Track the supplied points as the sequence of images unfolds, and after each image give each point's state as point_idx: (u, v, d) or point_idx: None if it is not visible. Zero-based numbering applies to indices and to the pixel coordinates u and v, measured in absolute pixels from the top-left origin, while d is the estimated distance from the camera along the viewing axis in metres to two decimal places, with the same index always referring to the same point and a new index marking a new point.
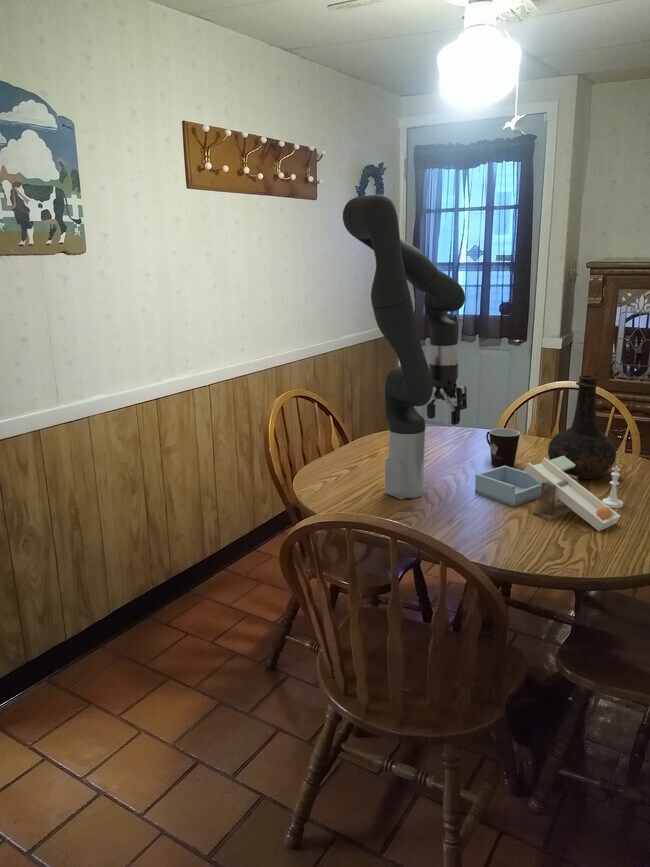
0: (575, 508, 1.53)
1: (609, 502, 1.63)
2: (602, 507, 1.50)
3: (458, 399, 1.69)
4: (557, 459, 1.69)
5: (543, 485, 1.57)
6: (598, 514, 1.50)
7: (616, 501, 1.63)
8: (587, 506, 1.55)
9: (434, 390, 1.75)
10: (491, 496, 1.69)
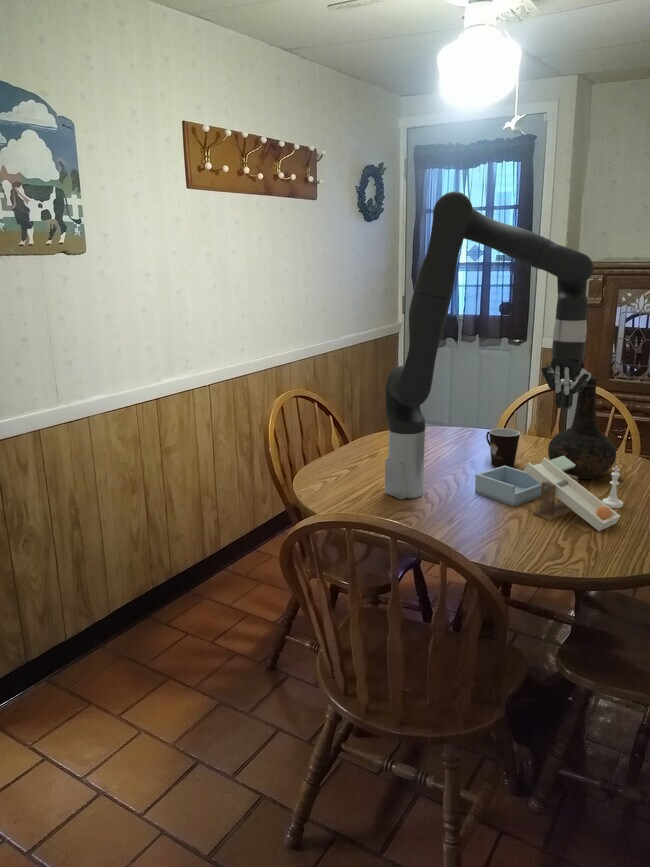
0: (575, 508, 1.53)
1: (609, 502, 1.63)
2: (602, 507, 1.50)
3: (579, 384, 1.59)
4: (557, 459, 1.69)
5: (543, 485, 1.57)
6: (598, 514, 1.50)
7: (616, 501, 1.63)
8: (587, 506, 1.55)
9: (558, 369, 1.62)
10: (491, 496, 1.69)
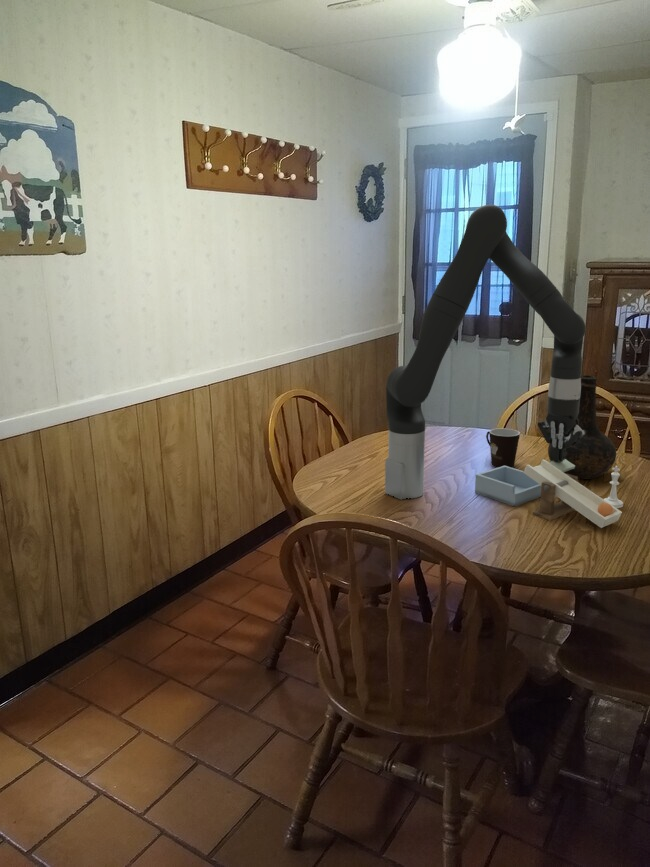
0: (576, 506, 1.52)
1: (609, 502, 1.63)
2: (603, 504, 1.50)
3: (572, 440, 1.63)
4: None
5: (543, 485, 1.57)
6: (599, 511, 1.50)
7: (616, 501, 1.63)
8: (588, 504, 1.54)
9: (553, 425, 1.66)
10: (491, 496, 1.69)
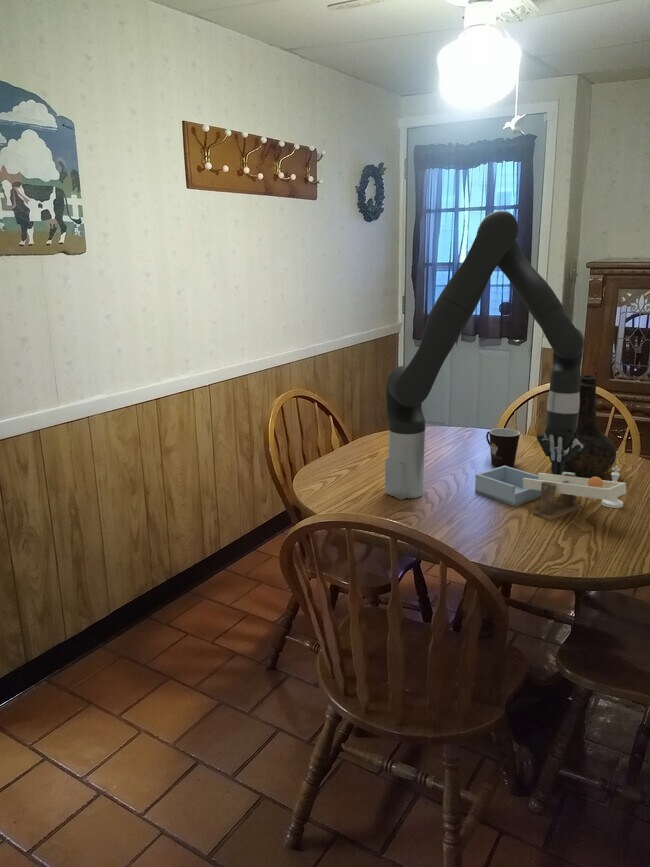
0: (580, 492, 1.51)
1: (609, 502, 1.63)
2: None
3: (570, 454, 1.64)
4: None
5: (543, 485, 1.57)
6: (593, 486, 1.50)
7: (616, 501, 1.63)
8: None
9: (552, 438, 1.67)
10: (491, 496, 1.69)
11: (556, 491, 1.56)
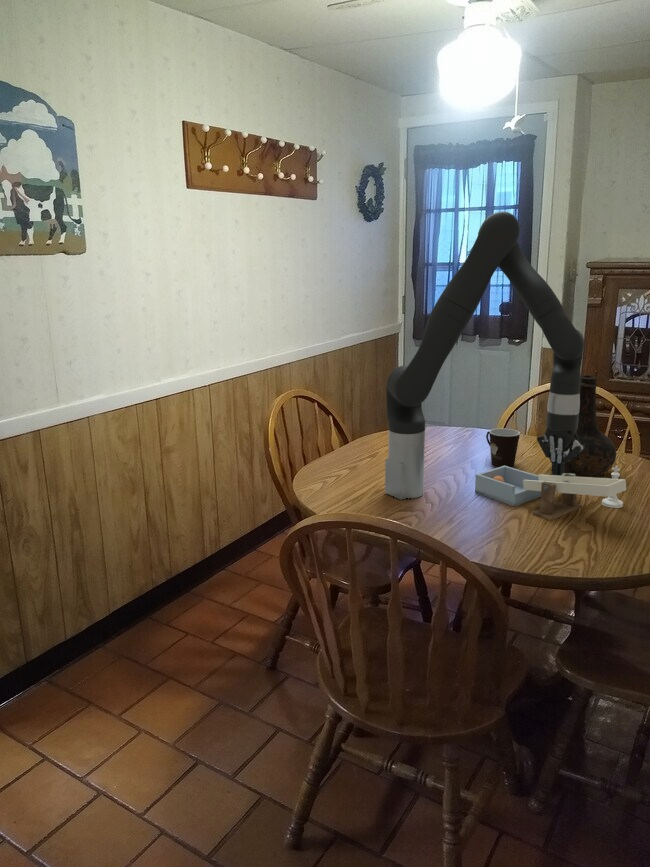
0: (580, 490, 1.51)
1: (609, 502, 1.63)
2: None
3: (571, 455, 1.64)
4: None
5: (543, 485, 1.57)
6: None
7: (616, 501, 1.63)
8: None
9: (552, 439, 1.67)
10: (491, 496, 1.69)
11: (556, 491, 1.56)
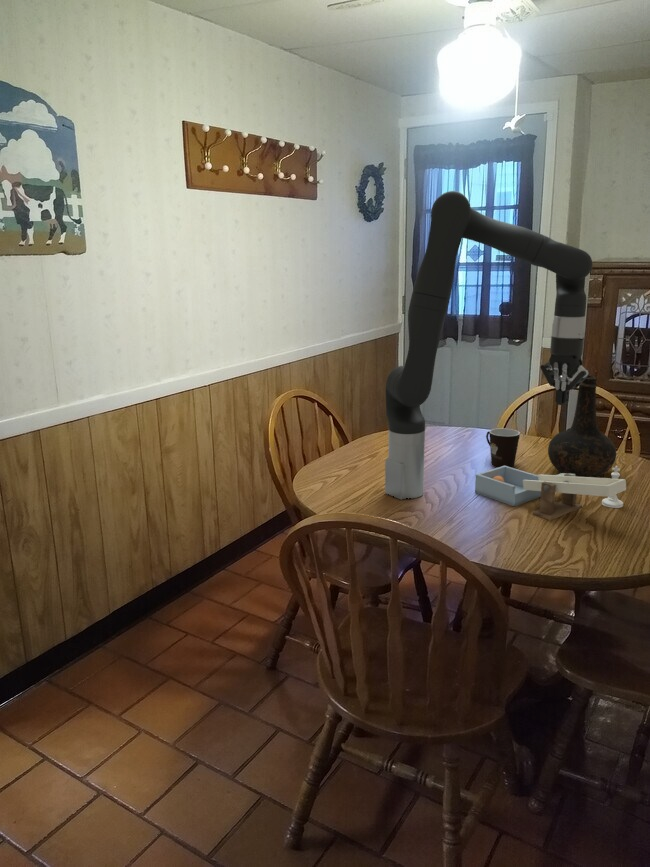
0: (580, 490, 1.51)
1: (609, 502, 1.63)
2: None
3: (575, 381, 1.60)
4: None
5: (543, 485, 1.57)
6: None
7: (616, 501, 1.63)
8: None
9: (556, 366, 1.62)
10: (491, 496, 1.69)
11: (556, 491, 1.56)
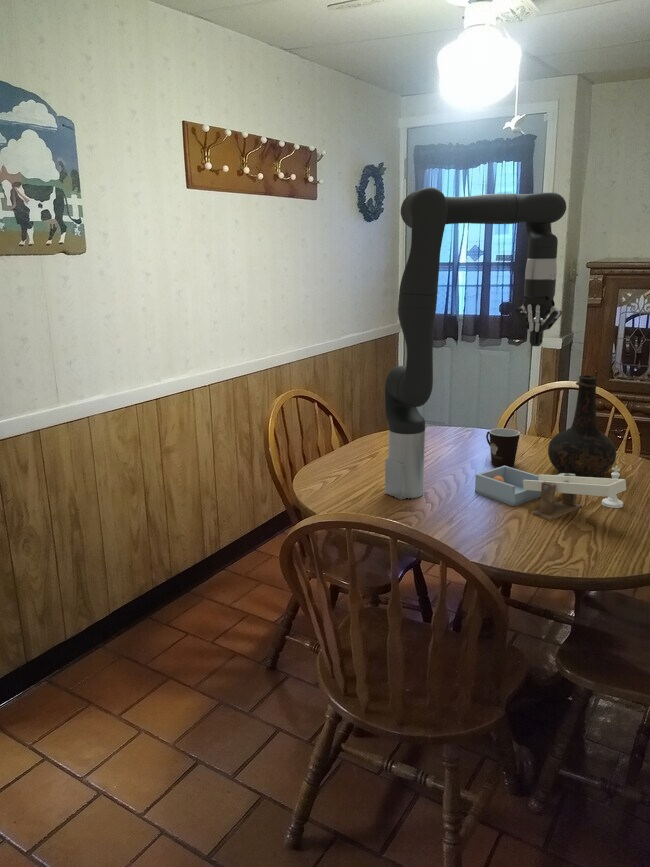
0: (580, 490, 1.51)
1: (609, 502, 1.63)
2: None
3: (548, 321, 1.66)
4: None
5: (543, 485, 1.57)
6: None
7: (616, 501, 1.63)
8: None
9: (530, 308, 1.69)
10: (491, 496, 1.69)
11: (556, 491, 1.56)
